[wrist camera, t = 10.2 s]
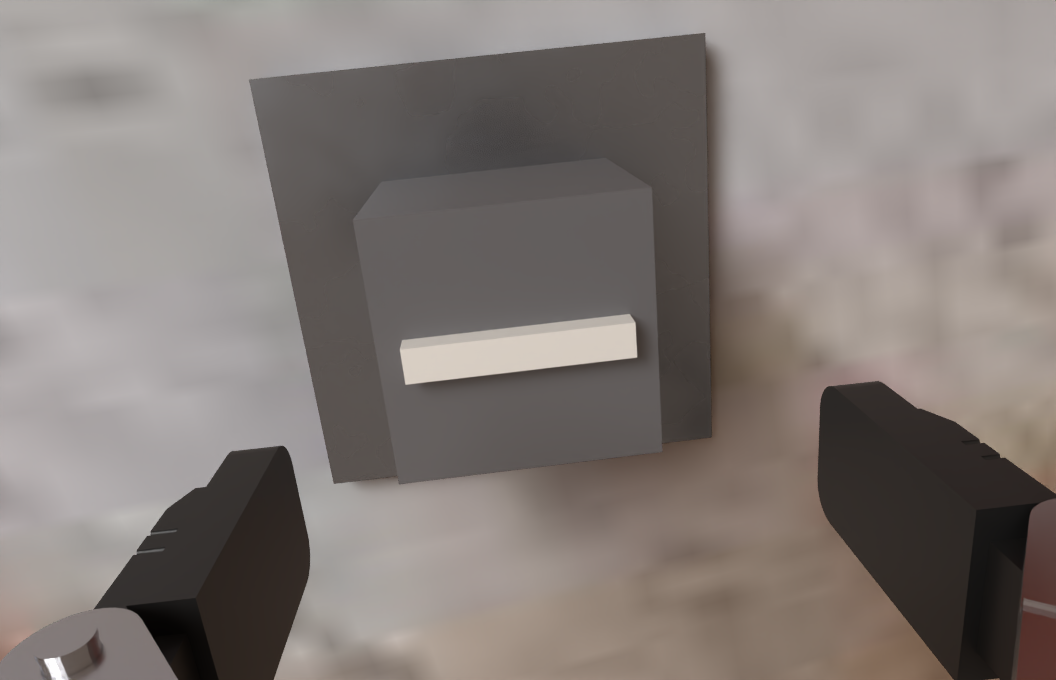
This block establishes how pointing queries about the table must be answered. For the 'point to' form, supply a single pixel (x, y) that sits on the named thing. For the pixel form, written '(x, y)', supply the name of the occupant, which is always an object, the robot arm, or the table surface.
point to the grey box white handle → (513, 317)
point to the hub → (478, 145)
